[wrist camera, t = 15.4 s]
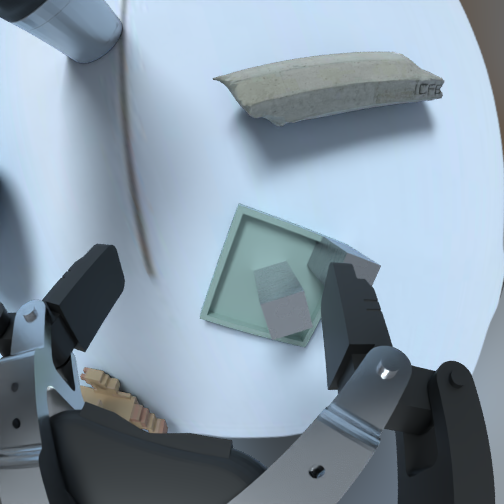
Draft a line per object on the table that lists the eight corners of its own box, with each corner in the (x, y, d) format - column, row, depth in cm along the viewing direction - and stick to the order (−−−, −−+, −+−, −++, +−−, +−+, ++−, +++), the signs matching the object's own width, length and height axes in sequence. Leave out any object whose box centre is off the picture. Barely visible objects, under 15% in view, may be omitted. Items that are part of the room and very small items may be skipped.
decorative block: (422, 104, 32) (452, 97, 25) (236, 143, 33) (236, 135, 25) (405, 61, 30) (433, 47, 22) (217, 90, 30) (213, 70, 23)
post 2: (305, 264, 37) (329, 292, 27) (318, 233, 36) (347, 252, 26) (333, 273, 38) (363, 303, 28) (346, 244, 37) (380, 265, 27)
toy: (40, 394, 29) (83, 448, 37) (146, 421, 31) (170, 468, 39) (61, 356, 38) (94, 415, 46) (157, 373, 40) (175, 430, 48)
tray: (201, 311, 38) (199, 318, 36) (238, 203, 34) (239, 204, 33) (302, 340, 40) (305, 347, 39) (347, 244, 37) (353, 248, 35)
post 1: (262, 300, 38) (272, 340, 28) (253, 270, 36) (260, 304, 27) (294, 290, 37) (312, 327, 28) (286, 260, 36) (304, 290, 27)
